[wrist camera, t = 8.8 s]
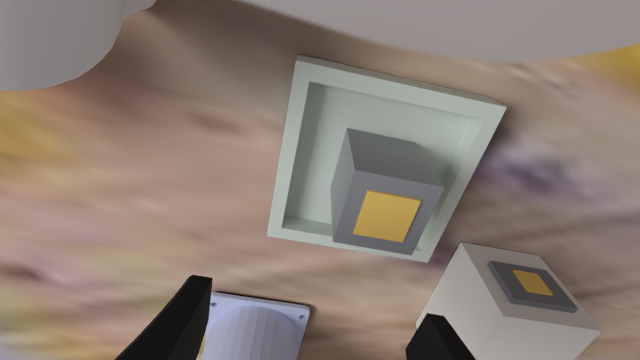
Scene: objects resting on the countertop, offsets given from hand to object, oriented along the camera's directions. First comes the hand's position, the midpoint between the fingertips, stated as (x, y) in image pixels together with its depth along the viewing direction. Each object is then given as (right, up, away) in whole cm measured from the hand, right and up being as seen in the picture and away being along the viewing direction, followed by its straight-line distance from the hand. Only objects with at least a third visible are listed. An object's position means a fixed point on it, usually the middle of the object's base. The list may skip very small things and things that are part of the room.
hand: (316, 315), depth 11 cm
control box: (+12, -4, +14) cm, 19 cm away
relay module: (+3, +5, +8) cm, 10 cm away
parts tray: (+3, +6, +9) cm, 11 cm away
